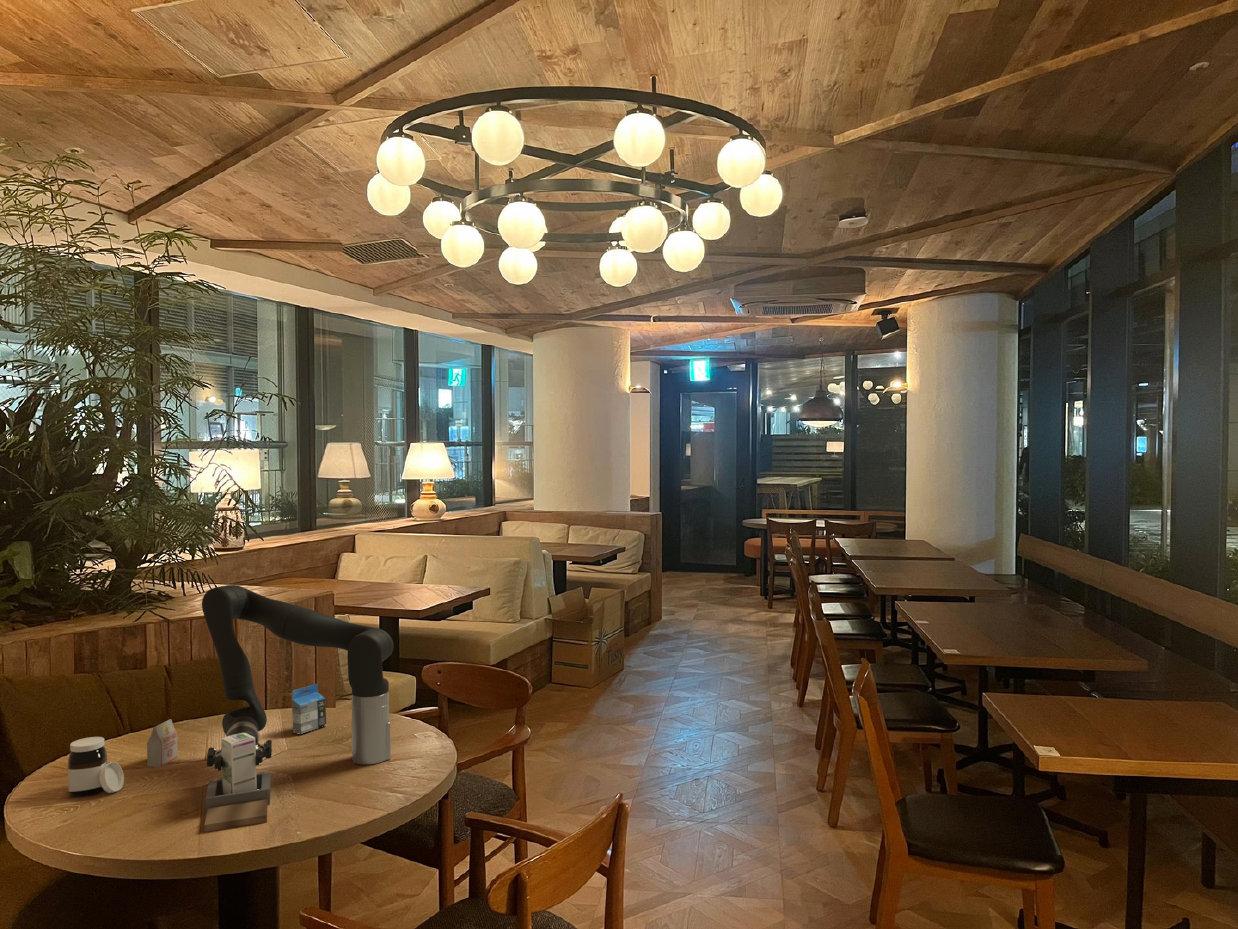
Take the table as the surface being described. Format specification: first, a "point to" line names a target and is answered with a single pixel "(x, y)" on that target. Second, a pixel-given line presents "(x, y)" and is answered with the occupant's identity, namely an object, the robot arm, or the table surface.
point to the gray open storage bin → (218, 799)
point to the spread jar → (92, 768)
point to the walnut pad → (236, 815)
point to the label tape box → (308, 709)
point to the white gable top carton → (162, 745)
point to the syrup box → (238, 763)
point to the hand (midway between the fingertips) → (238, 763)
